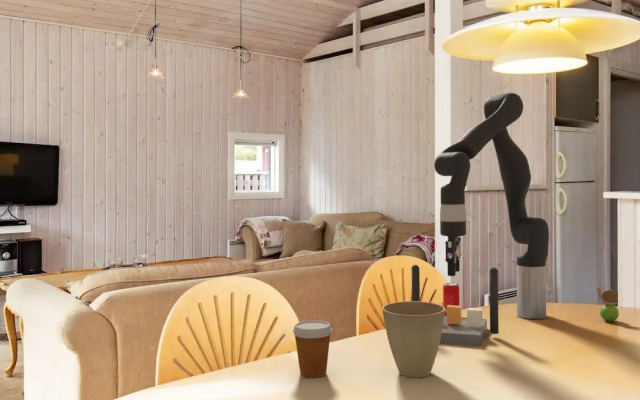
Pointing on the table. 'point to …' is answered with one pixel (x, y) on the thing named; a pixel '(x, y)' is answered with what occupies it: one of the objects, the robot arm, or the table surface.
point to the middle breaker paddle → (454, 314)
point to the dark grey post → (494, 301)
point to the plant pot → (414, 335)
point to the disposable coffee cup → (312, 347)
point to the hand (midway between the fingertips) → (453, 273)
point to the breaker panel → (465, 329)
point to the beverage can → (450, 295)
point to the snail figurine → (608, 304)
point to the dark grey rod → (415, 283)
